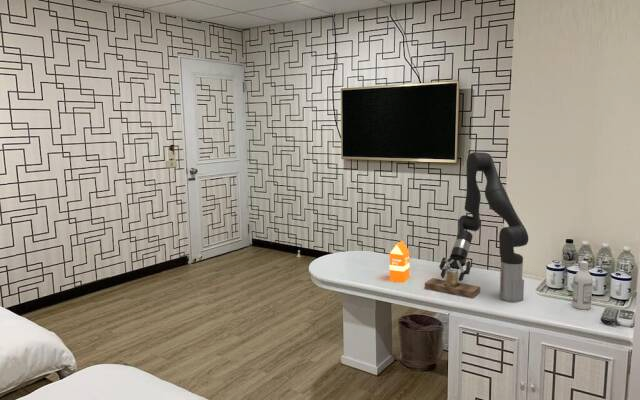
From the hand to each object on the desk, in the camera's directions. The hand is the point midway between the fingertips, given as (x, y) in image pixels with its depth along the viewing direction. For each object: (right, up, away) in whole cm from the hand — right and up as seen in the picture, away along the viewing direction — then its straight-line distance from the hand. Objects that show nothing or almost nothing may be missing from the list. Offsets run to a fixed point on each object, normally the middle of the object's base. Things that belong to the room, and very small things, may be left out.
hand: (450, 279), depth 224 cm
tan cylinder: (+1, -6, +2) cm, 6 cm away
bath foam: (+50, -8, -22) cm, 55 cm away
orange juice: (-21, -4, +21) cm, 30 cm away
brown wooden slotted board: (+1, -6, +2) cm, 6 cm away
